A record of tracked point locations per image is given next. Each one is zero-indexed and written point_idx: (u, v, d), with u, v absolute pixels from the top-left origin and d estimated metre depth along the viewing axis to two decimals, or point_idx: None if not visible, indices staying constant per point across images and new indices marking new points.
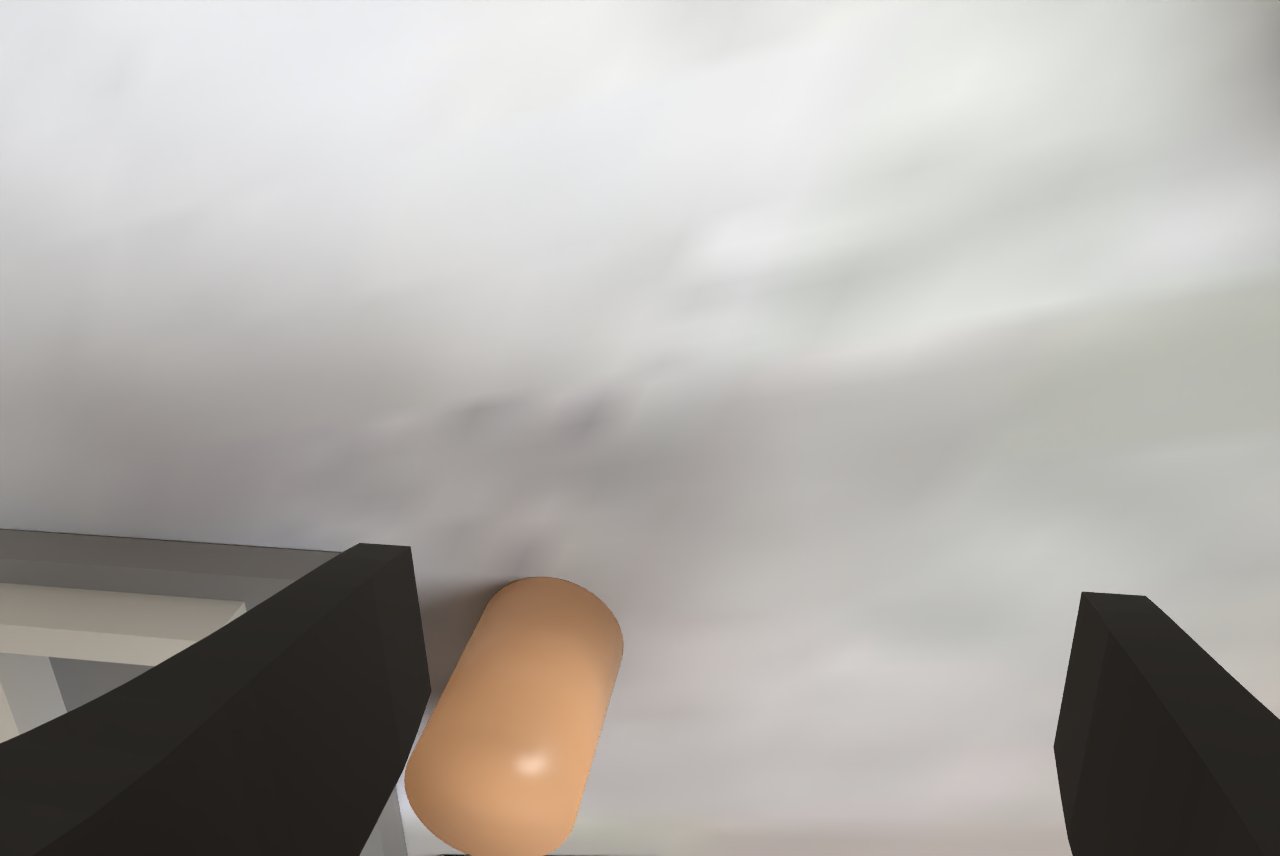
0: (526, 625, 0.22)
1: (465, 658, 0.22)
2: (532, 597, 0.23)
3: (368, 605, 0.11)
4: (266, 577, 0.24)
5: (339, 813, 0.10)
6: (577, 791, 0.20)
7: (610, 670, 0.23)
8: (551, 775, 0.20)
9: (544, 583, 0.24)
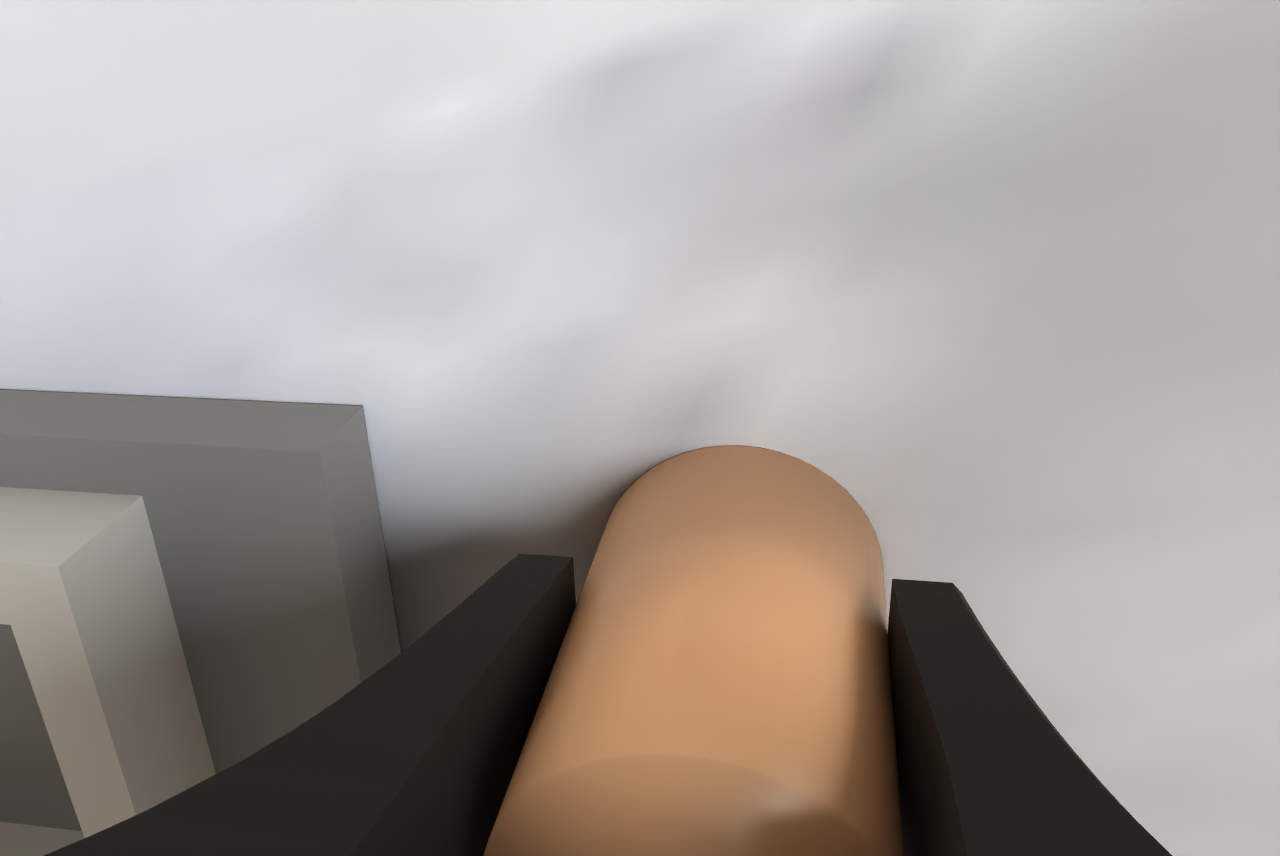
0: (726, 527, 0.11)
1: (599, 598, 0.10)
2: (722, 478, 0.11)
3: (545, 619, 0.10)
4: (183, 443, 0.12)
5: None
6: None
7: (887, 628, 0.11)
8: None
9: (739, 455, 0.12)
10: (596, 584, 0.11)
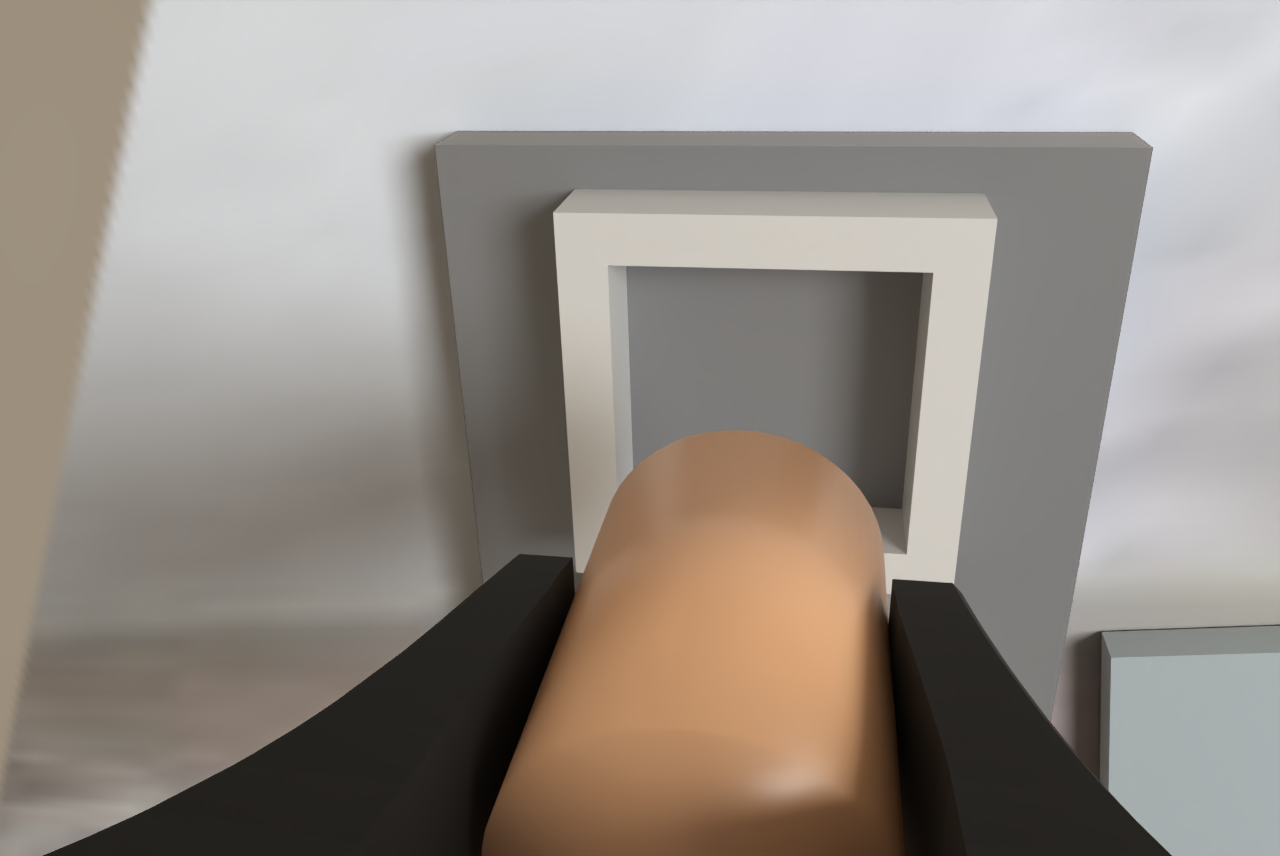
0: (729, 509, 0.11)
1: (602, 577, 0.10)
2: (727, 462, 0.11)
3: (545, 620, 0.10)
4: (1035, 147, 0.16)
5: None
6: None
7: (887, 613, 0.11)
8: (858, 851, 0.08)
9: (743, 440, 0.12)
10: (599, 564, 0.11)
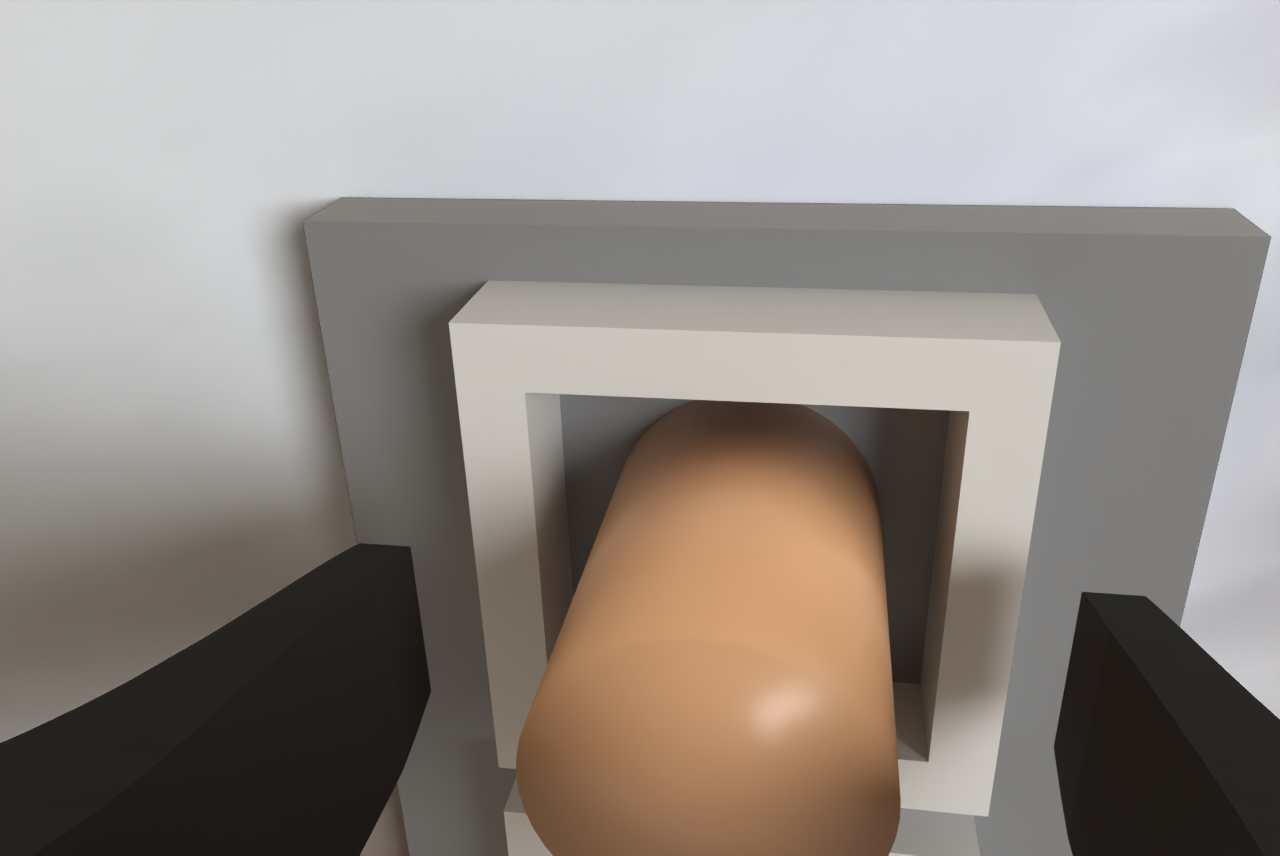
0: (738, 460, 0.11)
1: (622, 520, 0.11)
2: (735, 419, 0.12)
3: (368, 605, 0.11)
4: (1107, 233, 0.12)
5: (339, 814, 0.10)
6: (899, 786, 0.09)
7: (883, 558, 0.12)
8: (855, 751, 0.09)
9: None
10: (618, 511, 0.12)
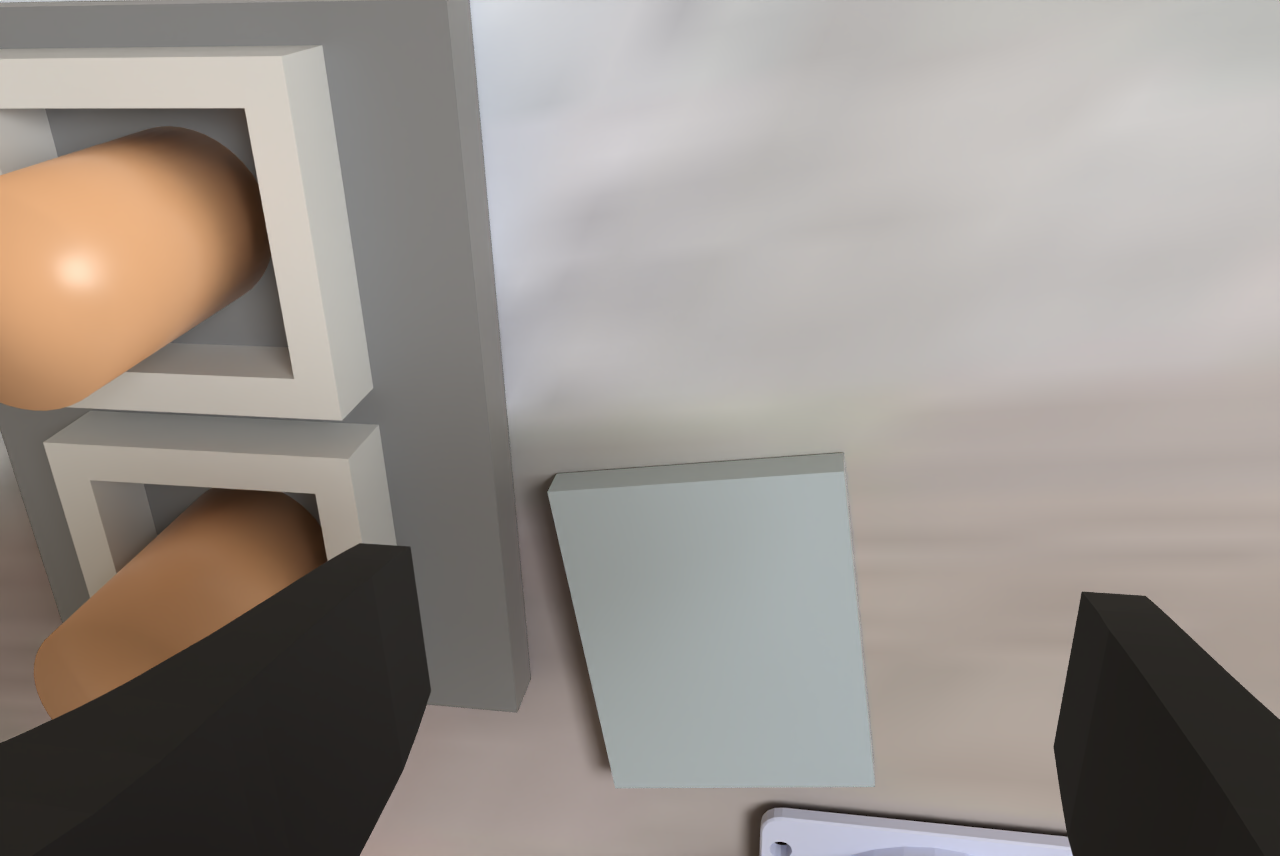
0: (110, 145, 0.18)
1: None
2: (138, 134, 0.19)
3: (368, 605, 0.11)
4: (353, 0, 0.18)
5: (339, 813, 0.10)
6: (117, 294, 0.15)
7: (231, 224, 0.18)
8: (72, 262, 0.15)
9: (162, 128, 0.19)
10: None
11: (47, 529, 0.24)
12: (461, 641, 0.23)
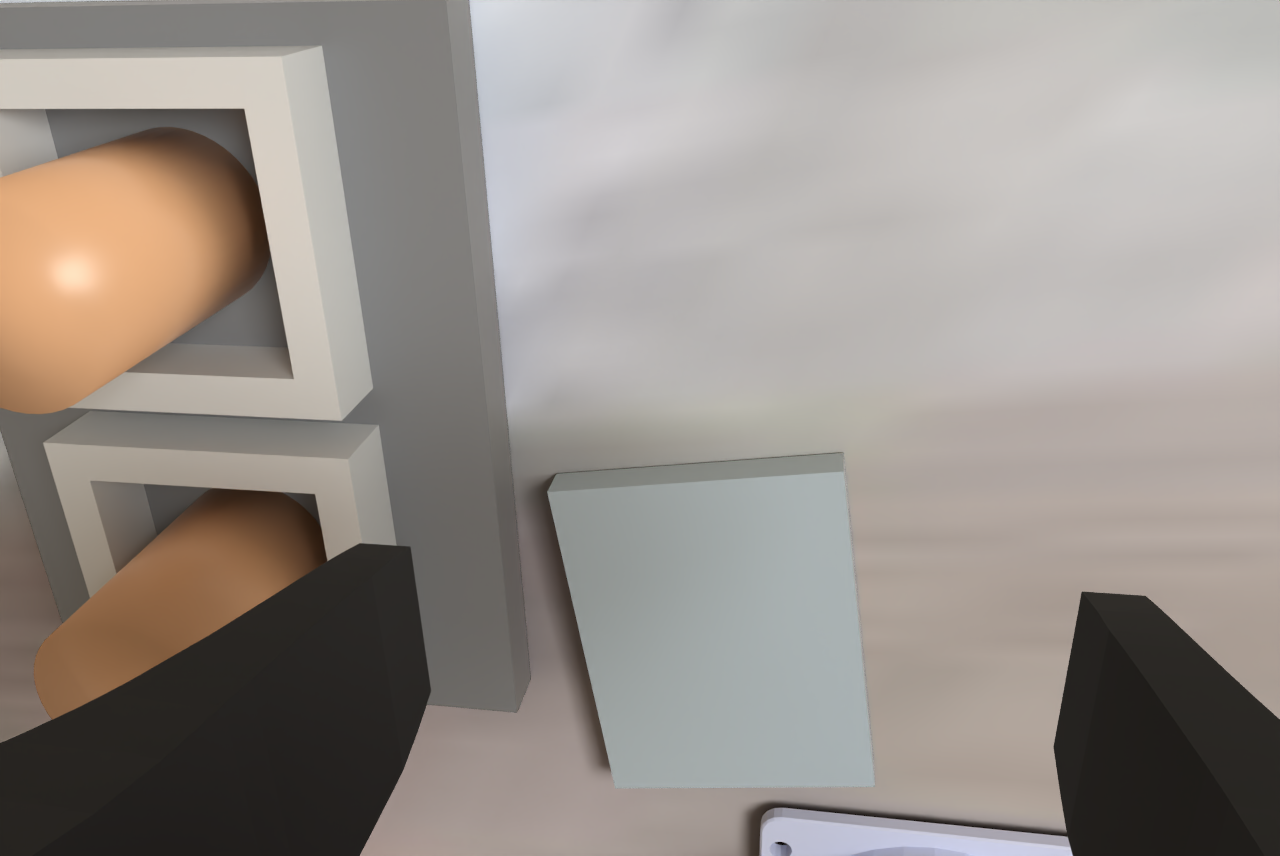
0: (108, 147, 0.18)
1: None
2: (138, 135, 0.19)
3: (368, 606, 0.11)
4: (353, 1, 0.18)
5: (340, 813, 0.10)
6: (108, 301, 0.15)
7: (228, 227, 0.18)
8: (64, 268, 0.15)
9: (162, 129, 0.19)
10: None
11: (47, 529, 0.24)
12: (461, 641, 0.23)
